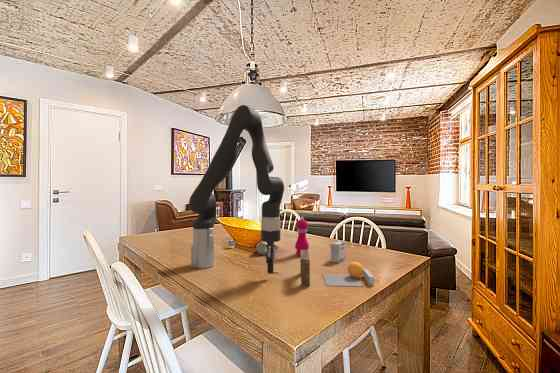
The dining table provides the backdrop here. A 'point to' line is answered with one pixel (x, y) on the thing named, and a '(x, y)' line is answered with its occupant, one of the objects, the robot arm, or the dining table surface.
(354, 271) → the ball
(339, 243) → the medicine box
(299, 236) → the magenta tall lumpy piece
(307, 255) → the bridge
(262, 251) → the ceramic sculpture
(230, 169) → the robot arm
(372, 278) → the stopper wall
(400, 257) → the dining table surface
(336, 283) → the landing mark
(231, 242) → the coffee cup
